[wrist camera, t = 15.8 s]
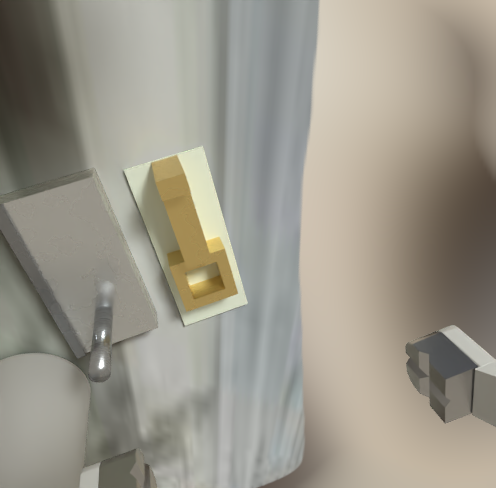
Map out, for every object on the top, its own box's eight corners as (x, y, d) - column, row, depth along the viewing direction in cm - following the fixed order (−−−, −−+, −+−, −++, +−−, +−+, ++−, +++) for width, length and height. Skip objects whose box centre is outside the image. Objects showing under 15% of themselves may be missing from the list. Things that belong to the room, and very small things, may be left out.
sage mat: (123, 169, 40) (123, 170, 40) (202, 146, 41) (202, 146, 41) (184, 323, 50) (185, 325, 50) (246, 301, 51) (247, 303, 51)
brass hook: (134, 167, 40) (135, 188, 35) (193, 149, 41) (204, 167, 35) (183, 297, 48) (190, 330, 43) (232, 280, 49) (245, 310, 43)
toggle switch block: (-2, 196, 39) (-48, 255, 28) (94, 167, 40) (84, 214, 29) (79, 338, 47) (67, 423, 37) (156, 311, 48) (165, 387, 38)
